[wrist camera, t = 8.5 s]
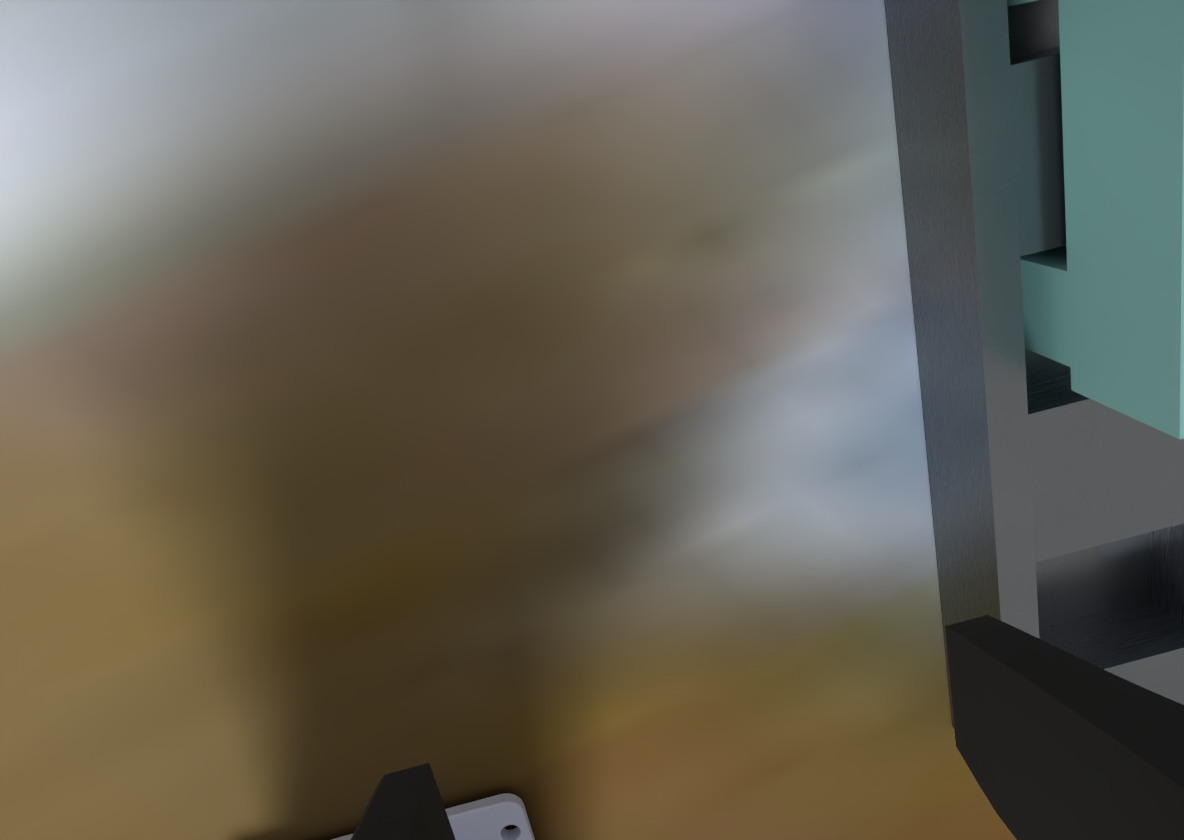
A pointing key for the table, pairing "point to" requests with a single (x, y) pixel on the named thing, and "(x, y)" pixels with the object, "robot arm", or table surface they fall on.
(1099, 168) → the teal rectangular block
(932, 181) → the rail
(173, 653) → the table surface
